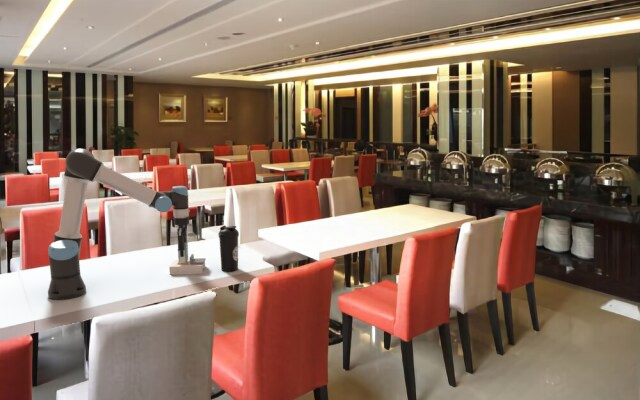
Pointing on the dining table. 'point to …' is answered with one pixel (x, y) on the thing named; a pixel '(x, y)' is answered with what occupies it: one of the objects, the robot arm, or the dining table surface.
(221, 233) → the water bottle
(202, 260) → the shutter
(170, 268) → the socket block
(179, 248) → the robot arm
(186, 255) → the teal block
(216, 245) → the dining table surface
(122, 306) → the dining table surface
